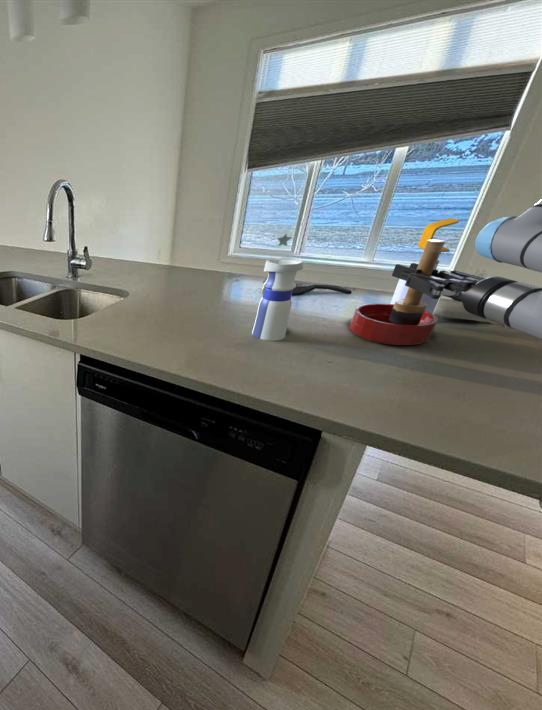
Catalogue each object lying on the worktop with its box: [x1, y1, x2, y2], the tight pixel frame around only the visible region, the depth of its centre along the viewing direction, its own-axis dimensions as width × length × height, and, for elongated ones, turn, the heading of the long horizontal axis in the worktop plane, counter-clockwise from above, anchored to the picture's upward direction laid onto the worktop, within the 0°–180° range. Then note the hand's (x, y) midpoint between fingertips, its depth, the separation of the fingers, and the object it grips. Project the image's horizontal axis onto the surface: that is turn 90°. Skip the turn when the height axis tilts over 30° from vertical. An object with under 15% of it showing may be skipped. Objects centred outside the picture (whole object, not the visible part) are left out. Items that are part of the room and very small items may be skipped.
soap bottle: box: [389, 217, 460, 315], centre depth 103 cm, size 9×9×25 cm
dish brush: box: [389, 239, 446, 325], centre depth 92 cm, size 6×6×19 cm
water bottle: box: [251, 232, 304, 342], centre depth 100 cm, size 8×8×25 cm
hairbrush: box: [262, 277, 353, 297], centre depth 130 cm, size 8×4×25 cm
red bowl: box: [349, 302, 439, 346], centre depth 99 cm, size 15×15×6 cm
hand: (402, 269), depth 96 cm, fingers closed on dish brush, 3 cm apart
